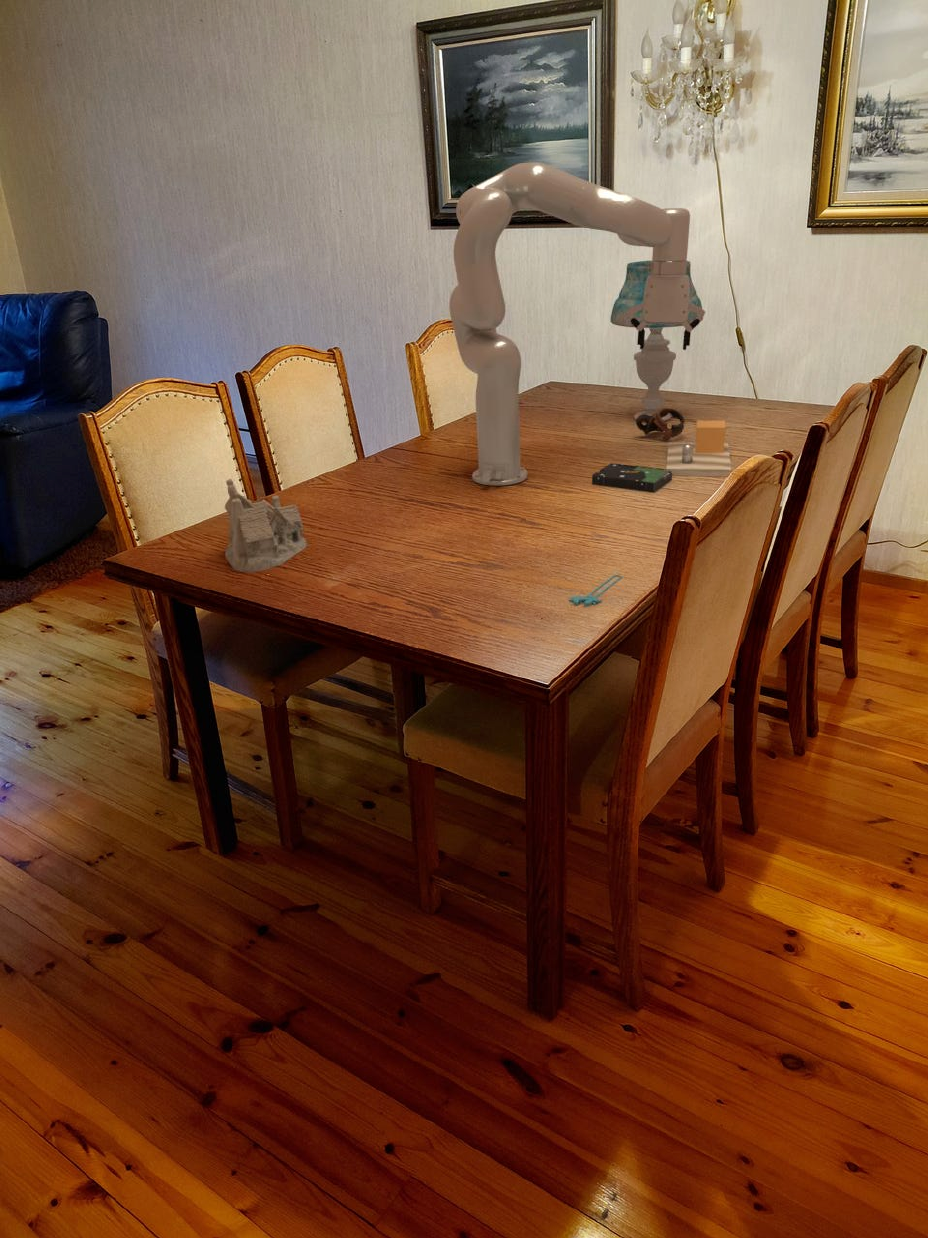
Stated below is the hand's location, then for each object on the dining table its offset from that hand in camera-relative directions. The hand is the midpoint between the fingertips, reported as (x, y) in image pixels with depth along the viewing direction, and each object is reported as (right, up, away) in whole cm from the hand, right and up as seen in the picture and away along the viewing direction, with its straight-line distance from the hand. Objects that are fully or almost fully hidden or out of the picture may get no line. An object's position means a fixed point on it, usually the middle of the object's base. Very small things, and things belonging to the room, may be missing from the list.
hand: (663, 348), depth 210 cm
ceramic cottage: (-83, -50, -36) cm, 103 cm away
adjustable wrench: (-23, -58, -59) cm, 86 cm away
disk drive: (-9, -32, -8) cm, 35 cm away
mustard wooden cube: (+12, -22, +6) cm, 26 cm away
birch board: (+9, -26, +3) cm, 27 cm away
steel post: (+5, -27, -2) cm, 27 cm away
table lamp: (+6, -7, +41) cm, 42 cm away
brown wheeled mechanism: (+4, -16, +24) cm, 29 cm away
